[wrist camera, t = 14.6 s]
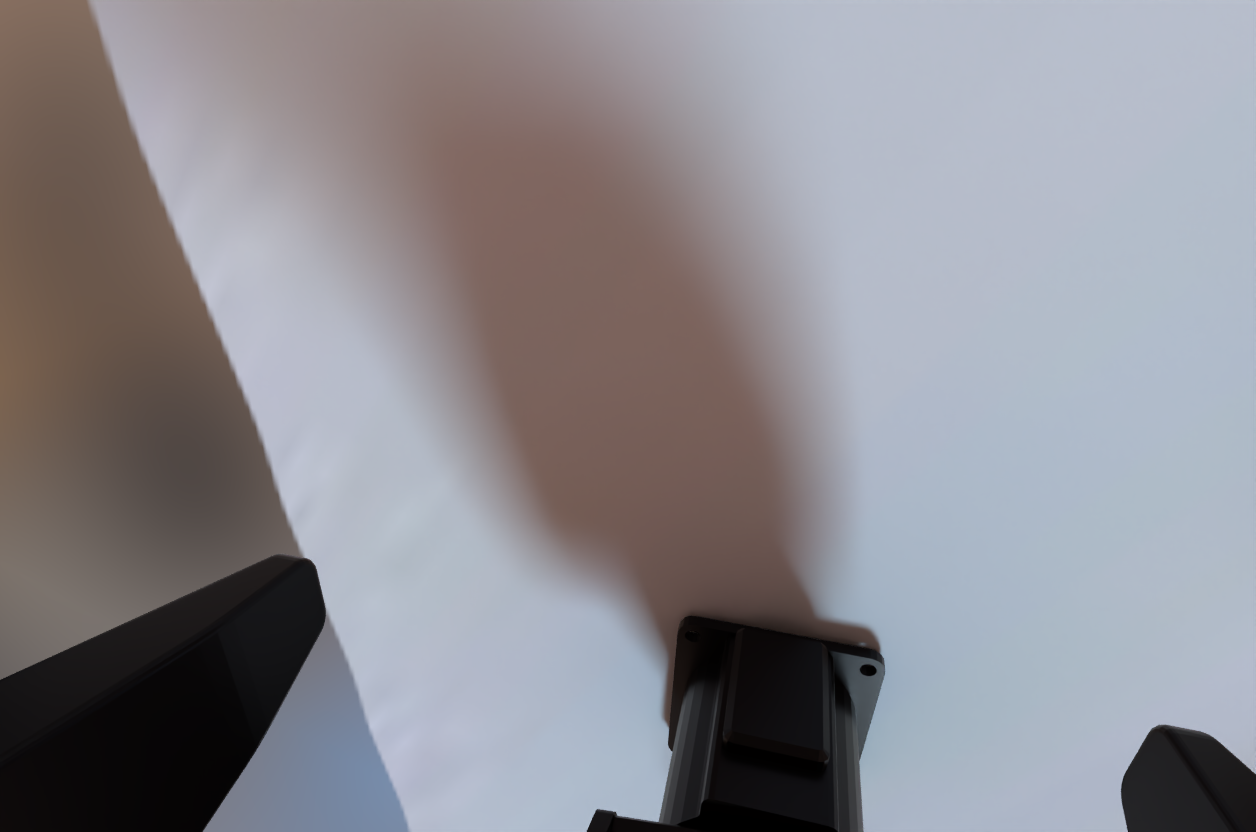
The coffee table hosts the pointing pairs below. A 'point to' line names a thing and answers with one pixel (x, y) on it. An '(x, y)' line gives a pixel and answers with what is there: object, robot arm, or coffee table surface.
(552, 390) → the coffee table surface
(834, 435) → the coffee table surface
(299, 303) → the coffee table surface
